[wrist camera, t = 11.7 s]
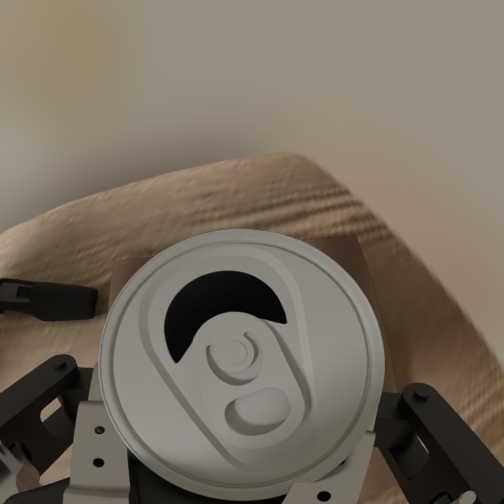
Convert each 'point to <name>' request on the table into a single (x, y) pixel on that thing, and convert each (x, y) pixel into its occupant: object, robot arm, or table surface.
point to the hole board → (354, 264)
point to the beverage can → (241, 364)
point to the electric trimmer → (48, 299)
